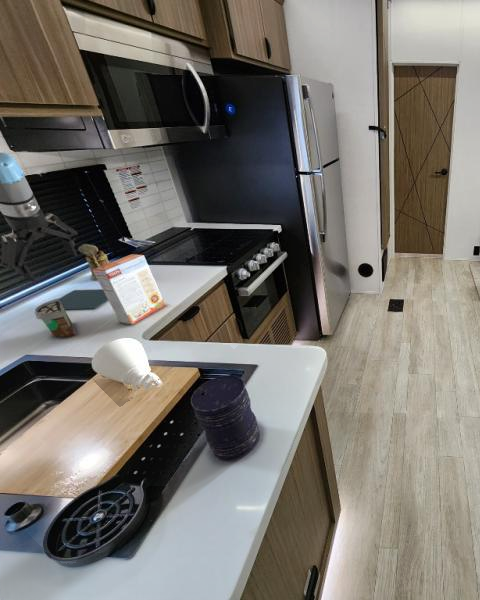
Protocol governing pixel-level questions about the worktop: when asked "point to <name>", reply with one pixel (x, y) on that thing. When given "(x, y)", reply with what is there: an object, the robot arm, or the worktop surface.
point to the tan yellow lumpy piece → (93, 257)
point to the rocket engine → (125, 363)
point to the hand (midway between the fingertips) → (52, 266)
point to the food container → (55, 318)
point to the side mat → (83, 299)
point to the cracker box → (130, 288)
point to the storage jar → (226, 417)
